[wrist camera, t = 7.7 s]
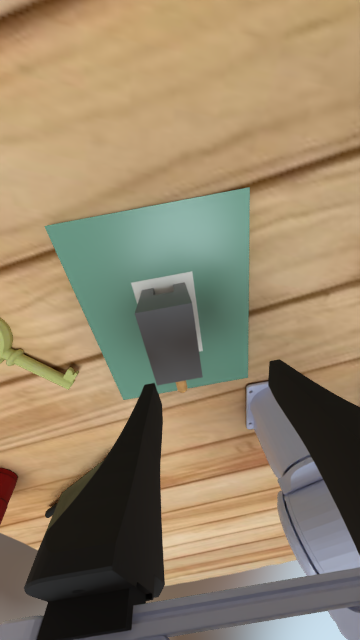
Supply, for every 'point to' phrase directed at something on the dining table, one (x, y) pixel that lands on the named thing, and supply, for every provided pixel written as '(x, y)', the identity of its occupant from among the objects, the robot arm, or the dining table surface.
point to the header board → (164, 280)
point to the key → (30, 360)
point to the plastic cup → (6, 489)
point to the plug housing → (169, 335)
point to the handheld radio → (68, 497)
